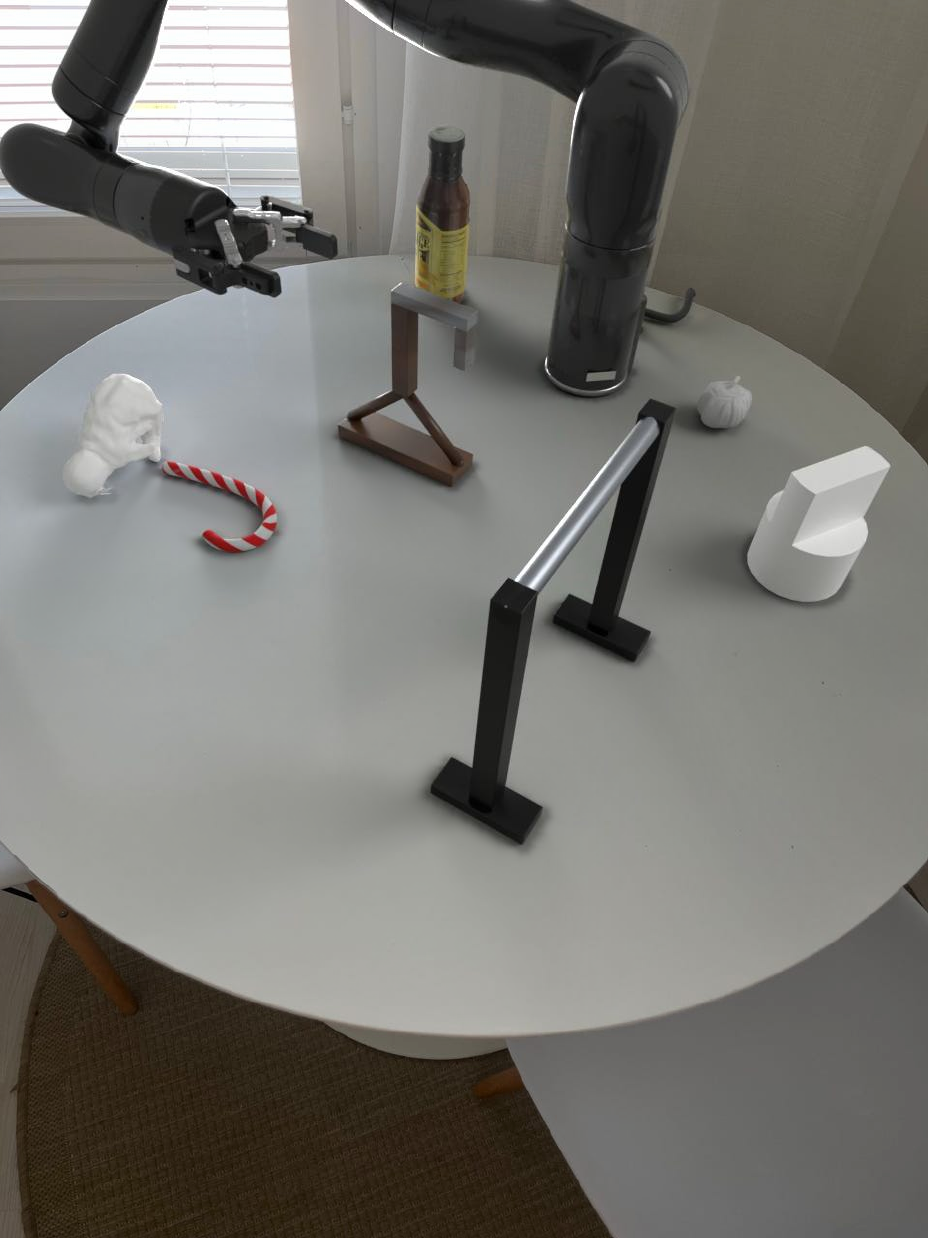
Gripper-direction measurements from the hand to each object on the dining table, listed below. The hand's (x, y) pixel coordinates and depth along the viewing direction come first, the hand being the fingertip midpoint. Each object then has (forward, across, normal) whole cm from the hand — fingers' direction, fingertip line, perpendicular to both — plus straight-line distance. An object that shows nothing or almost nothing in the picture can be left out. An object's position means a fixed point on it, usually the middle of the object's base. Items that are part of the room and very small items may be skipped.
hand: (308, 266), depth 84 cm
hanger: (+11, 0, +17) cm, 20 cm away
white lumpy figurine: (-11, -19, +17) cm, 28 cm away
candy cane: (0, -17, +17) cm, 24 cm away
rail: (+38, -21, +16) cm, 47 cm away
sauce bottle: (-2, +27, +17) cm, 32 cm away
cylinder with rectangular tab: (+51, +7, +16) cm, 54 cm away
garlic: (+36, +24, +17) cm, 47 cm away
